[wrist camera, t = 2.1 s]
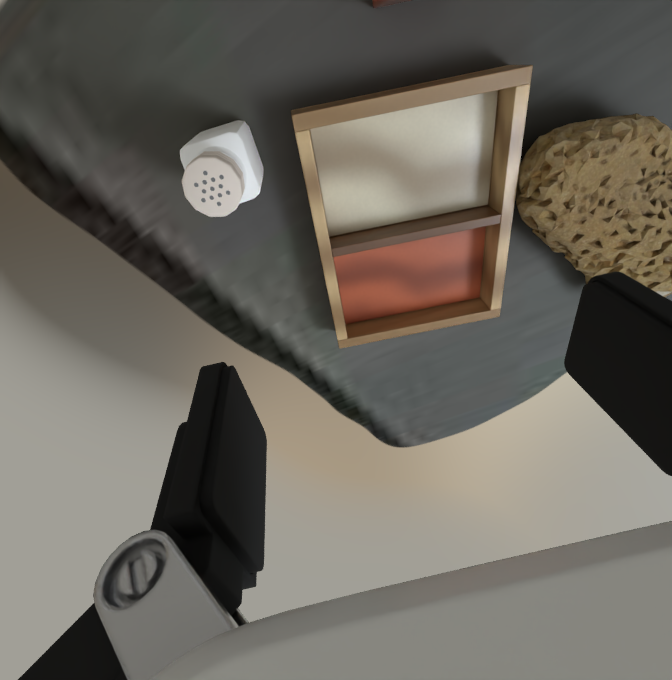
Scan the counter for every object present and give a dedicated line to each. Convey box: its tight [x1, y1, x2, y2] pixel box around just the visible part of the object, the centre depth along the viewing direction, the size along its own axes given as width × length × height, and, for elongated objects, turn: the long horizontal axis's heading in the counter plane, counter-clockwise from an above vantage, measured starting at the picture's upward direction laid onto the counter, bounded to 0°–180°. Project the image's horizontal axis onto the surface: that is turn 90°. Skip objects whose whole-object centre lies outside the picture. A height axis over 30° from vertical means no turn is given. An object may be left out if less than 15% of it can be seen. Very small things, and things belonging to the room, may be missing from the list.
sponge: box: [516, 114, 672, 297], centre depth 31 cm, size 13×8×20 cm
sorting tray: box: [291, 65, 533, 348], centre depth 31 cm, size 20×16×3 cm
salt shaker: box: [180, 120, 264, 217], centre depth 24 cm, size 4×4×10 cm
